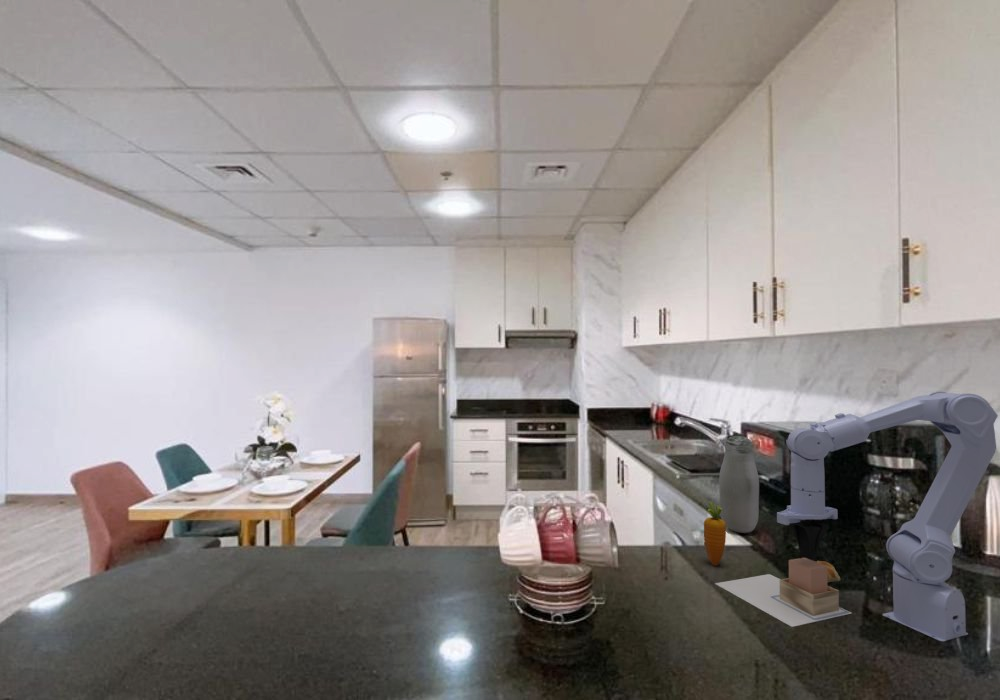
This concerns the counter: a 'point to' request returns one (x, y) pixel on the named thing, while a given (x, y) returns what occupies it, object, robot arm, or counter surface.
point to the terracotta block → (808, 575)
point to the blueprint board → (773, 600)
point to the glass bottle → (739, 486)
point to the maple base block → (809, 599)
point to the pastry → (830, 572)
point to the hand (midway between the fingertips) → (808, 557)
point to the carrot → (714, 535)
